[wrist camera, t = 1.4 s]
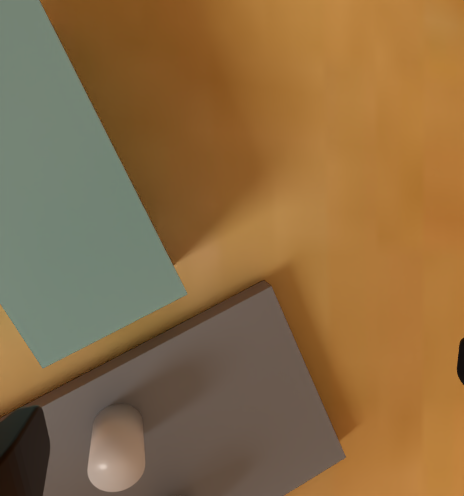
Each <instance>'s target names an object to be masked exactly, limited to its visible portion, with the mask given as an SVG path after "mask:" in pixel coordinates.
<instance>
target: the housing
mask: <svg viewBox="0 0 464 496" xmlns="http://www.w3.org/2000/svg"><path fill="white" fill-rule="evenodd" d="M185 295H187V292H186V290H185V288H184V286H183V284H182V282H181V280H180V278H179V276H178V274H177V272H176V270H175V268H174V266H173V264H172V262H171V260H170V258H169V256H168V254H167V252H166V250H165V248H164V246H163V244H162V242H161V240H160V238H159V236H158V234H157V232H156V230H155V228H154V226H153V224H152V222H151V220H150V218H149V216H148V214H147V212H146V210H145V208H144V206H143V204H142V202H141V200H140V198H139V196H138V194H137V192H136V190H135V189H134V187H133V185H132V183H131V181H130V179H129V177H128V175H127V173H126V171H125V169H124V167H123V165H122V163H121V161H120V159H119V157H118V155H117V153H116V151H115V149H114V147H113V145H112V143H111V141H110V139H109V137H108V135H107V133H106V131H105V129H104V127H103V125H102V123H101V121H100V119H99V117H98V115H97V113H96V111H95V109H94V107H93V105H92V103H91V101H90V99H89V97H88V95H87V93H86V91H85V89H84V87H83V85H82V83H81V81H80V79H79V77H78V75H77V73H76V71H75V69H74V67H73V66H72V64H71V62H70V60H69V58H68V56H67V54H66V52H65V50H64V48H63V46H62V44H61V42H60V40H59V38H58V36H57V34H56V32H55V30H54V28H53V26H52V24H51V22H50V20H49V18H48V16H47V14H46V12H45V10H44V8H43V6H42V4H41V2H40V0H0V304H1V306H2V307H3V309H4V310H5V312H6V313H7V315H8V316H9V318H10V319H11V321H12V322H13V324H14V325H15V327H16V328H17V330H18V332H19V333H20V335H21V336H22V338H23V339H24V341H25V342H26V344H27V345H28V347H29V348H30V350H31V351H32V353H33V354H34V356H35V357H36V359H37V360H38V362H39V363H40V365H41V367H42V368H45V367H47V366H49V365H51V364H53V363H54V362H56V361H58V360H60V359H62V358H64V357H66V356H68V355H70V354H72V353H74V352H76V351H78V350H80V349H82V348H84V347H86V346H88V345H90V344H92V343H94V342H95V341H97V340H99V339H101V338H103V337H105V336H107V335H109V334H111V333H113V332H115V331H117V330H119V329H121V328H123V327H125V326H127V325H129V324H131V323H133V322H134V321H136V320H138V319H140V318H142V317H144V316H146V315H148V314H150V313H152V312H154V311H156V310H158V309H160V308H162V307H164V306H166V305H168V304H170V303H172V302H173V301H175V300H177V299H179V298H181V297H183V296H185Z"/></svg>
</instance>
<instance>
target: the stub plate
mask: <svg viewBox="0 0 464 496" xmlns="http://www.w3.org/2000/svg"><path fill="white" fill-rule="evenodd" d="M34 405H39V406H40V407H41V408H42V409H43V412H44V416H45V421H46V425H47V430H48V434H49V439H50V456H49V462H48V468H47V474H46V480H45V486H44V492H43V496H284V495H286V494H287V493H289V492H290V491H292V490H294V489H295V488H297V487H299V486H300V485H302V484H304V483H305V482H307V481H308V480H310V479H312V478H313V477H315V476H317V475H318V474H320V473H321V472H323V471H325V470H326V469H328V468H330V467H331V466H333V465H334V464H336V463H338V462H339V461H341V460H343V459H344V458H346V456H345V454H344V452H343V449H342V447H341V445H340V443H339V440H338V438H337V436H336V433H335V431H334V429H333V427H332V424H331V422H330V420H329V417H328V415H327V413H326V410H325V408H324V406H323V404H322V401H321V399H320V397H319V394H318V392H317V390H316V387H315V385H314V383H313V381H312V378H311V376H310V374H309V371H308V369H307V367H306V364H305V362H304V360H303V358H302V355H301V353H300V351H299V348H298V346H297V344H296V341H295V339H294V337H293V335H292V332H291V330H290V328H289V325H288V323H287V321H286V319H285V316H284V314H283V312H282V309H281V307H280V305H279V302H278V300H277V298H276V296H275V293H274V291H273V289H272V286H271V285H269V284H268V283H267V282H266V281H264V280H263V281H261V282H259V283H258V284H256V285H254V286H252V287H250V288H248V289H246V290H244V291H242V292H240V293H238V294H237V295H235V296H233V297H231V298H229V299H227V300H225V301H223V302H221V303H219V304H217V305H215V306H214V307H212V308H210V309H208V310H206V311H204V312H202V313H200V314H198V315H196V316H194V317H192V318H191V319H189V320H187V321H185V322H183V323H181V324H179V325H177V326H175V327H173V328H171V329H170V330H168V331H166V332H164V333H162V334H160V335H158V336H156V337H154V338H152V339H150V340H148V341H147V342H145V343H143V344H141V345H139V346H137V347H135V348H133V349H131V350H129V351H127V352H126V353H124V354H122V355H120V356H118V357H116V358H114V359H112V360H110V361H108V362H106V363H104V364H103V365H101V366H99V367H97V368H95V369H93V370H91V371H89V372H87V373H85V374H83V375H82V376H80V377H78V378H76V379H74V380H72V381H70V382H68V383H66V384H64V385H62V386H60V387H59V388H57V389H55V390H53V391H51V392H49V393H47V394H45V395H43V396H41V397H39V398H38V399H36V400H34V401H32V402H30V403H28V404H26V405H24V406H22V407H28V406H34ZM20 408H21V407H20ZM11 413H12V412H11ZM11 413H9V414H11ZM9 414H7V415H5V416H3V417H1V418H0V422H1V421H2V420H3V419H4V418H6V417H7V416H8V415H9Z"/></svg>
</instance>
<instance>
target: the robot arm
mask: <svg viewBox="0 0 464 496" xmlns="http://www.w3.org/2000/svg"><path fill="white" fill-rule="evenodd" d="M457 374H458V377H459V379H460V381H461V382H462V383H463V385H464V338H463V339H462V340H461V341H460V344H459V354H458V363H457ZM49 456H50V439H49V434H48V430H47V425H46V421H45V416H44V412H43V409H42V408H41V407H40V406H39V405H34V406H28V407H21V408H18V409H16V410H14V411H13V412H12V413H11V414H9V415H8V416H7V417H6V418H4V419H3V420H2V421H1V422H0V496H43V492H44V486H45V480H46V474H47V468H48V462H49Z"/></svg>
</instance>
